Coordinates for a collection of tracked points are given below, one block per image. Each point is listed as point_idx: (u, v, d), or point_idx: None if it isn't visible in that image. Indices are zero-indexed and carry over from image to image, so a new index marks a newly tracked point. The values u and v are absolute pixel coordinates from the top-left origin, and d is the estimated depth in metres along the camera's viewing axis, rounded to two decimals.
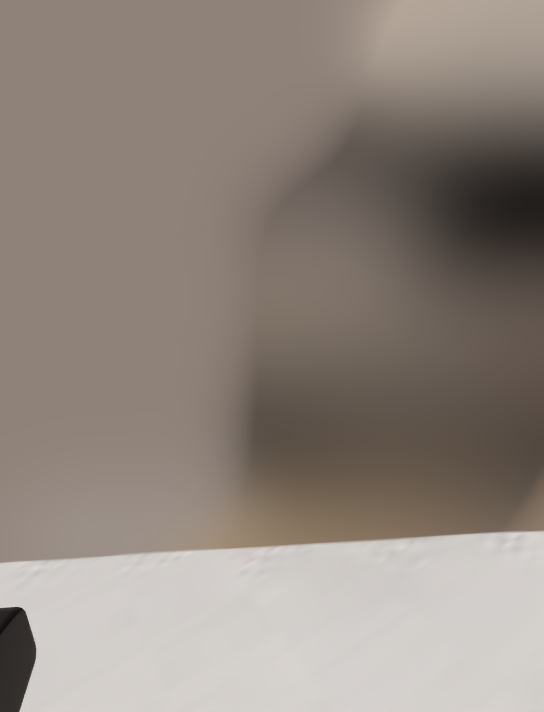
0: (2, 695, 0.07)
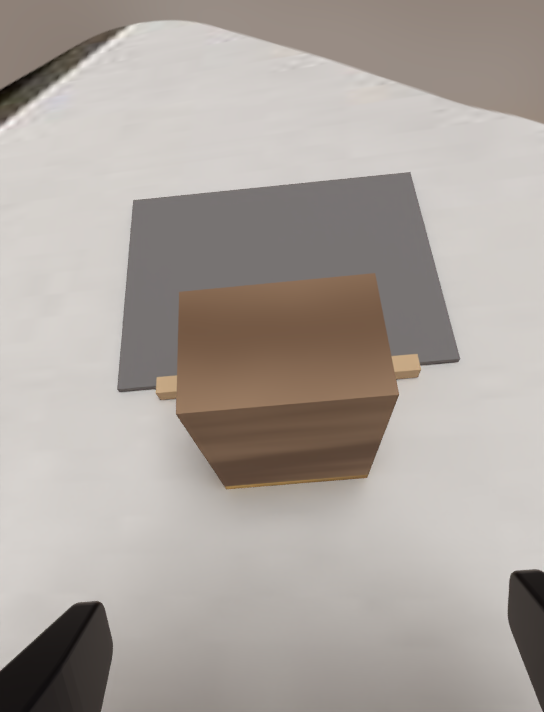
0: (89, 689, 0.07)
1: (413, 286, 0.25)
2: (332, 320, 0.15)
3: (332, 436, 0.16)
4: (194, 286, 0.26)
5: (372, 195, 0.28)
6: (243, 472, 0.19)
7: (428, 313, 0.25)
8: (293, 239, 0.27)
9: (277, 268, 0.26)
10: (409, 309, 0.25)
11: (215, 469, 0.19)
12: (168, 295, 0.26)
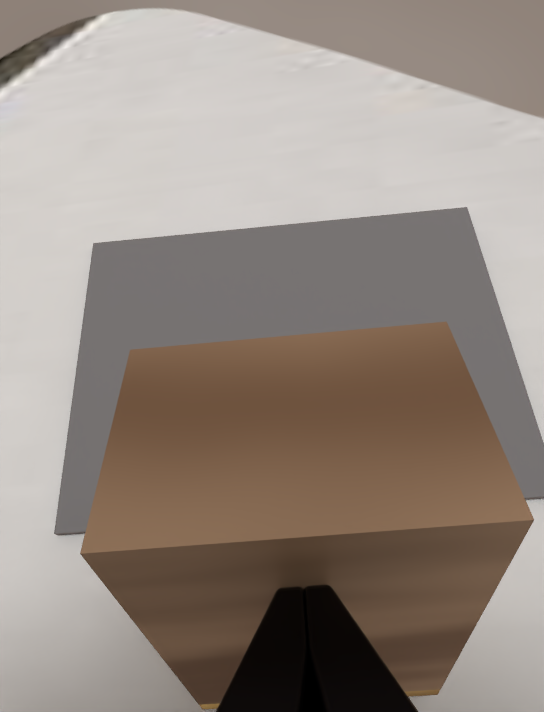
0: None
1: (483, 376, 0.18)
2: (384, 388, 0.08)
3: (388, 614, 0.09)
4: None
5: (417, 239, 0.21)
6: (228, 680, 0.11)
7: (506, 419, 0.17)
8: (310, 301, 0.20)
9: None
10: None
11: (178, 673, 0.11)
12: None
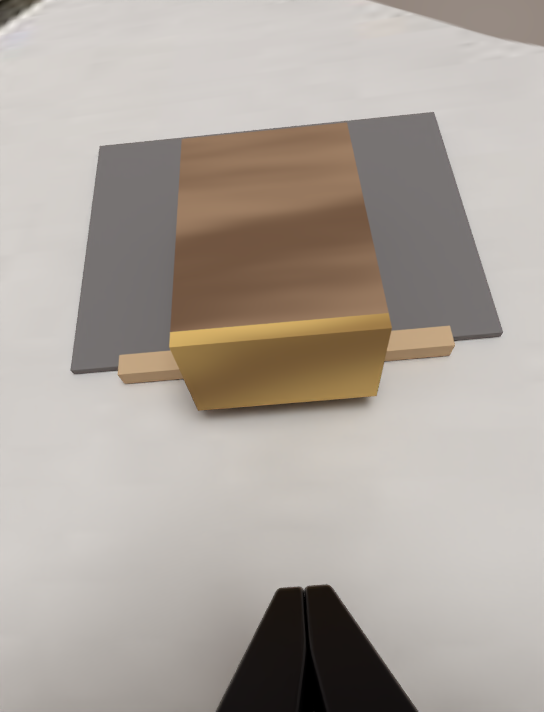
0: None
1: (442, 244, 0.20)
2: None
3: (308, 184, 0.17)
4: (170, 245, 0.21)
5: (388, 138, 0.23)
6: (208, 273, 0.15)
7: (460, 276, 0.20)
8: None
9: None
10: (437, 272, 0.20)
11: (177, 258, 0.15)
12: (138, 256, 0.21)
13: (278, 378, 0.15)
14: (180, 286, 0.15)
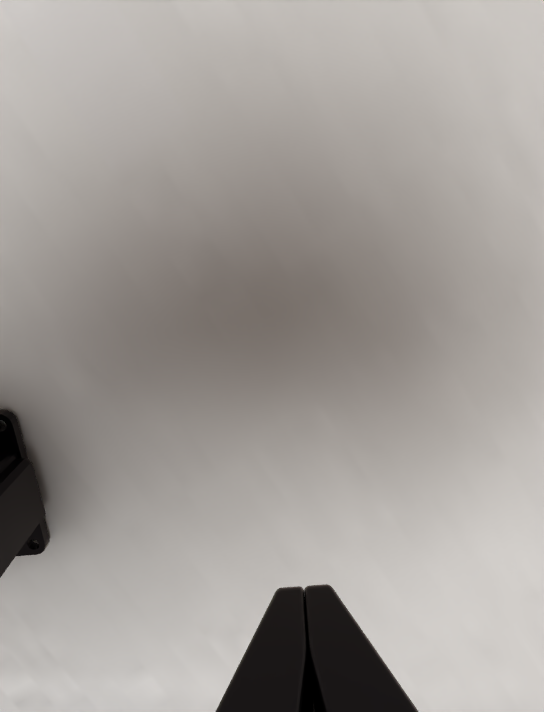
0: None
1: None
2: None
3: None
4: None
5: None
6: None
7: None
8: None
9: None
10: None
11: None
12: None
13: None
14: None
